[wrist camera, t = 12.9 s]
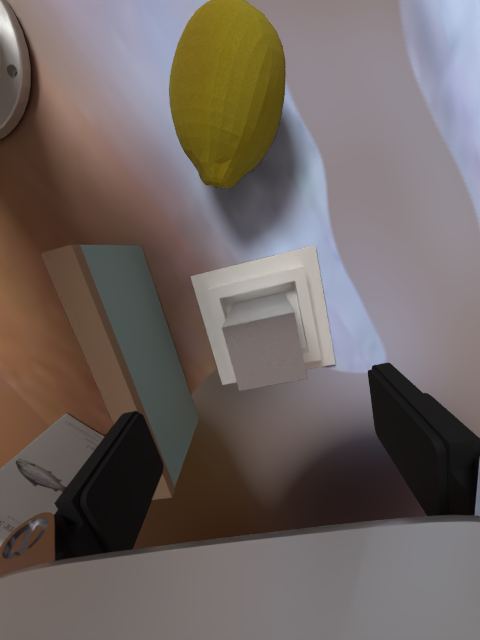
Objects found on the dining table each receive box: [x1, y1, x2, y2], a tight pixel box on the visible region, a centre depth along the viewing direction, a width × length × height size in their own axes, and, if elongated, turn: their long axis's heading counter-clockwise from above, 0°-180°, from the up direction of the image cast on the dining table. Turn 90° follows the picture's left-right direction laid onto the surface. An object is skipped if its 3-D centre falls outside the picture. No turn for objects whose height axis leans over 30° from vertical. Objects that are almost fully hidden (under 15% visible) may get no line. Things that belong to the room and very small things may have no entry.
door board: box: [40, 244, 199, 500], centre depth 23 cm, size 20×2×10 cm, turn 14°
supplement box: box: [0, 413, 104, 546], centre depth 27 cm, size 7×7×13 cm
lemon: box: [169, 0, 285, 188], centre depth 18 cm, size 11×8×8 cm
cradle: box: [190, 245, 335, 385], centre depth 25 cm, size 12×12×2 cm
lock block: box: [222, 292, 307, 391], centre depth 22 cm, size 5×5×8 cm
